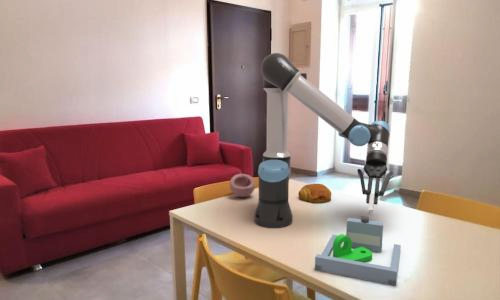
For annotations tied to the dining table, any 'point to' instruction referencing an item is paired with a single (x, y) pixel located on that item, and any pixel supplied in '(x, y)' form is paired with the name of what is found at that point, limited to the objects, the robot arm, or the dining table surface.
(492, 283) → the dining table surface
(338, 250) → the mechanical part
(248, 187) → the pink round pot
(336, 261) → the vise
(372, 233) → the slide jaw
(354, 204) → the dining table surface
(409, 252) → the dining table surface
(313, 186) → the croissant
